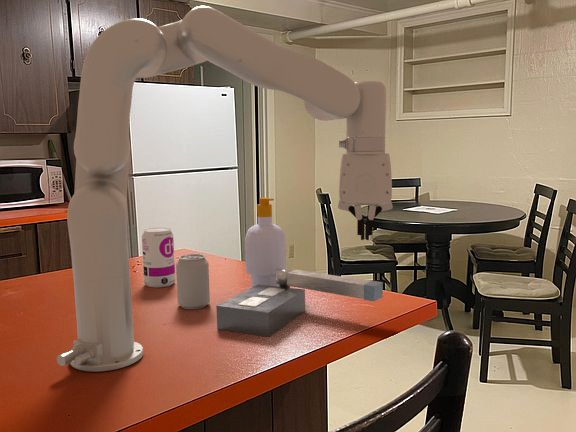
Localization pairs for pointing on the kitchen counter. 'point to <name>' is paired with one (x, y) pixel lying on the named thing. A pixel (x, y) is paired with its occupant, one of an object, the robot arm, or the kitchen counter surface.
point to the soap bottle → (264, 247)
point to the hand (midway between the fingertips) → (364, 238)
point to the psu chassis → (261, 309)
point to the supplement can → (158, 257)
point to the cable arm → (330, 284)
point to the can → (192, 281)
